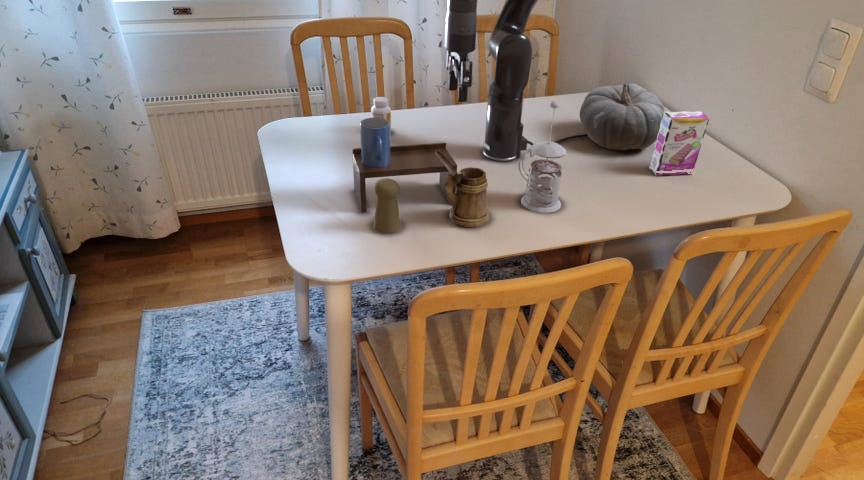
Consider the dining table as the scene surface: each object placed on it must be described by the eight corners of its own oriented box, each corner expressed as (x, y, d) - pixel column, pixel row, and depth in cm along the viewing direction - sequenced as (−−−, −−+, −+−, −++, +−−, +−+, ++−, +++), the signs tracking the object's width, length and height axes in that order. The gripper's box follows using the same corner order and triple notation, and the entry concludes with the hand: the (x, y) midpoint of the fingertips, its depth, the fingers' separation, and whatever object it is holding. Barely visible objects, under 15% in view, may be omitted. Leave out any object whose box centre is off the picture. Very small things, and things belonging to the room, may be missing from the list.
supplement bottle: (386, 127, 184) (385, 94, 178) (394, 134, 180) (393, 101, 175) (368, 130, 181) (367, 97, 176) (376, 137, 178) (375, 103, 172)
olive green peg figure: (396, 235, 136) (395, 189, 129) (369, 231, 136) (367, 185, 130) (404, 222, 141) (404, 177, 134) (378, 217, 141) (377, 173, 135)
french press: (549, 217, 147) (565, 113, 133) (506, 201, 152) (517, 100, 138) (568, 201, 154) (584, 101, 140) (526, 187, 159) (538, 88, 145)
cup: (387, 154, 145) (386, 116, 140) (394, 170, 139) (394, 130, 134) (359, 156, 144) (357, 117, 138) (365, 172, 137) (364, 132, 132)
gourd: (635, 113, 200) (647, 62, 188) (677, 158, 184) (693, 105, 172) (563, 126, 194) (570, 74, 182) (600, 173, 178) (611, 120, 165)
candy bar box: (656, 177, 169) (671, 118, 160) (648, 168, 173) (662, 110, 164) (693, 175, 172) (710, 117, 162) (684, 167, 175) (700, 110, 166)
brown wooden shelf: (443, 184, 157) (445, 142, 150) (455, 204, 149) (457, 160, 143) (354, 192, 150) (352, 148, 144) (361, 212, 143) (359, 167, 136)
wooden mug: (424, 216, 143) (426, 141, 133) (476, 205, 149) (482, 133, 139) (442, 235, 137) (445, 158, 127) (496, 222, 143) (503, 148, 133)
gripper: (485, 37, 146) (480, 105, 156) (467, 21, 157) (463, 85, 167) (453, 37, 144) (450, 106, 153) (437, 21, 155) (435, 86, 164)
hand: (457, 95), depth 160 cm, fingers open, 8 cm apart
